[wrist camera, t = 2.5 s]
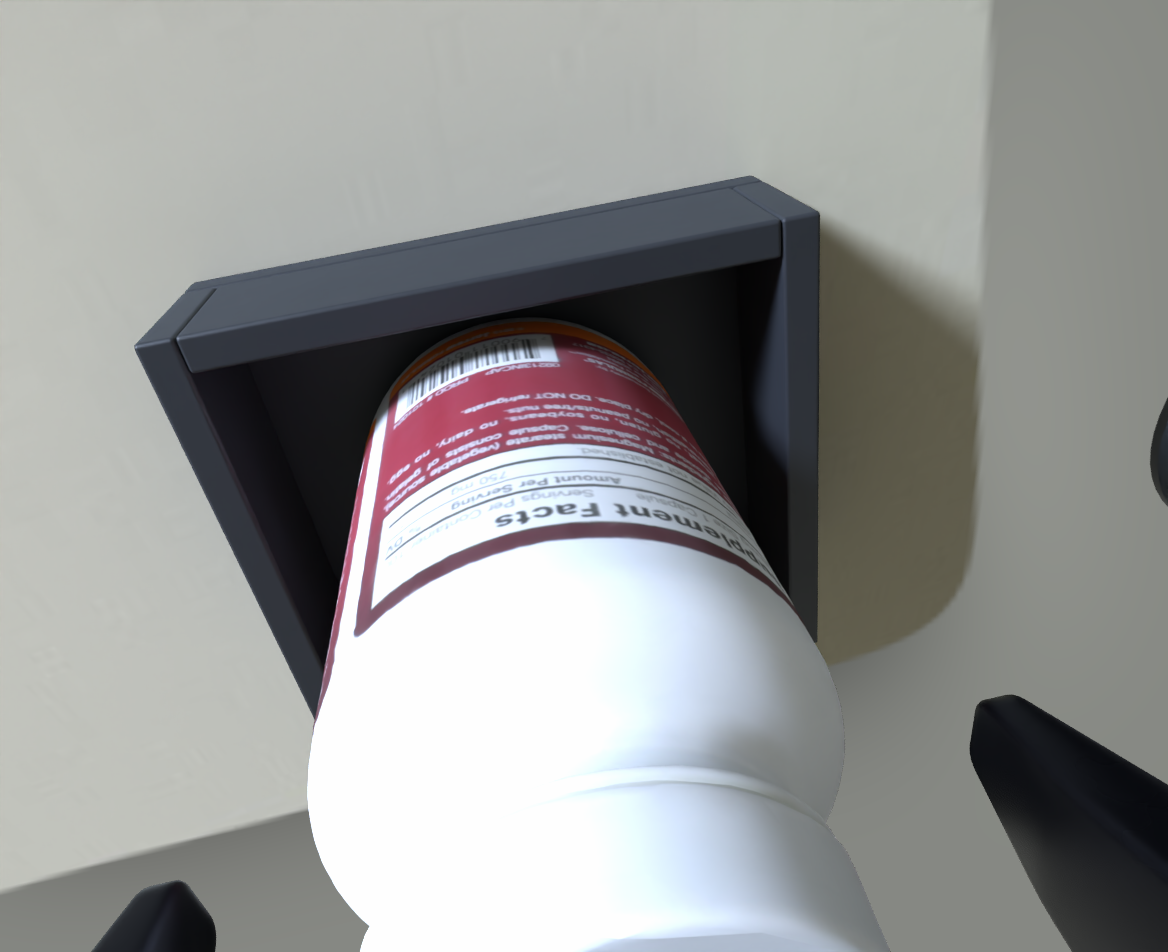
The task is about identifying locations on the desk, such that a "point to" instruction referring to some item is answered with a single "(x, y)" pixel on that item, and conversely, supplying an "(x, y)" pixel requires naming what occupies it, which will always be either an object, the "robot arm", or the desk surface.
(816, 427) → the tray
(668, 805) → the pill bottle
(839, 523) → the desk surface
